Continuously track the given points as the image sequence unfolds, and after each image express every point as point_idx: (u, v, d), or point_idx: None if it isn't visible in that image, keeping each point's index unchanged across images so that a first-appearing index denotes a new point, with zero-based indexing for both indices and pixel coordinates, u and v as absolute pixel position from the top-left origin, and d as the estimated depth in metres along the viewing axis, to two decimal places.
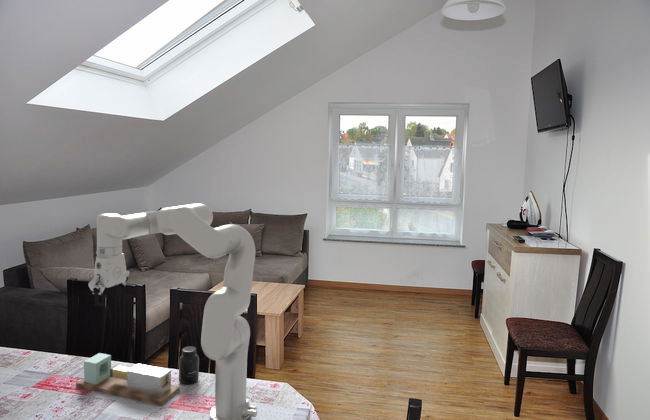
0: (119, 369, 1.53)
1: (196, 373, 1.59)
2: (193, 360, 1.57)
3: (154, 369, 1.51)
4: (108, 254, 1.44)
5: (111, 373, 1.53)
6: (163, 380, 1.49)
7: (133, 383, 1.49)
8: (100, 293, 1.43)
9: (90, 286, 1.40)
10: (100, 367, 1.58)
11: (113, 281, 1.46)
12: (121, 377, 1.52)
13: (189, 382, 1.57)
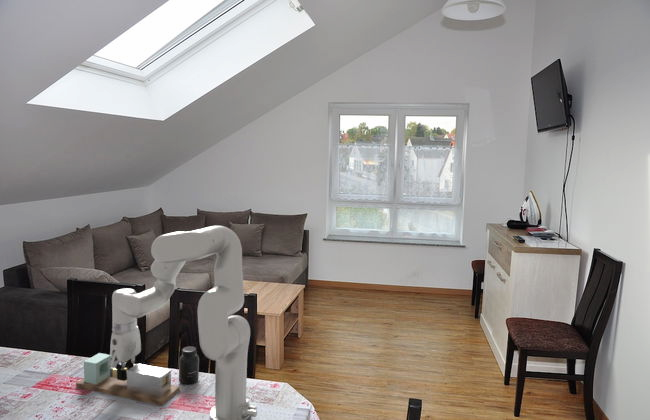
0: None
1: (196, 373, 1.59)
2: (193, 360, 1.57)
3: (154, 369, 1.51)
4: (124, 330, 1.48)
5: (111, 373, 1.53)
6: (163, 380, 1.49)
7: (133, 383, 1.49)
8: (122, 368, 1.50)
9: None
10: (100, 367, 1.58)
11: (128, 355, 1.50)
12: None
13: (189, 382, 1.57)
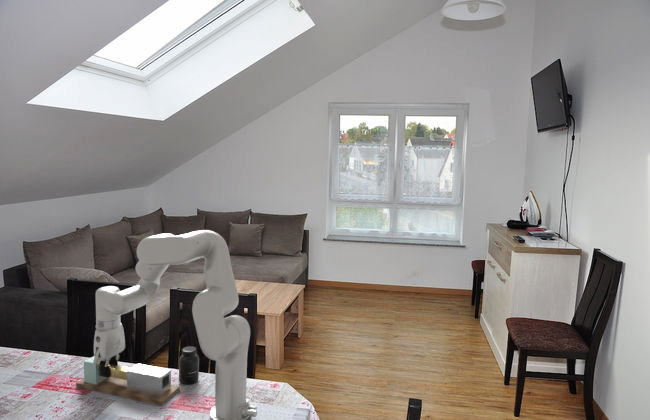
0: None
1: (196, 373, 1.59)
2: (193, 360, 1.57)
3: (154, 369, 1.51)
4: (107, 327, 1.49)
5: None
6: None
7: (133, 383, 1.49)
8: (106, 365, 1.52)
9: (96, 363, 1.49)
10: None
11: (112, 352, 1.52)
12: None
13: (189, 382, 1.57)
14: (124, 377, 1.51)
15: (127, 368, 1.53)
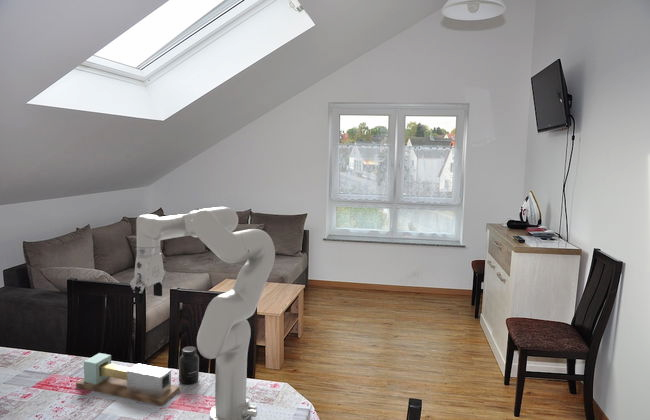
0: (103, 365, 1.54)
1: (196, 373, 1.59)
2: (193, 360, 1.57)
3: (154, 369, 1.51)
4: (148, 254, 1.49)
5: None
6: None
7: (133, 383, 1.49)
8: (141, 292, 1.48)
9: (132, 285, 1.46)
10: None
11: (152, 280, 1.51)
12: (105, 374, 1.53)
13: (189, 382, 1.57)
14: (124, 377, 1.51)
15: (127, 368, 1.53)
